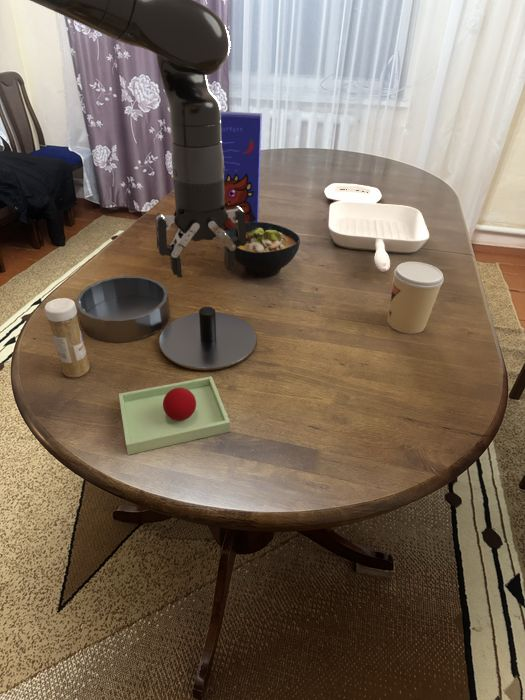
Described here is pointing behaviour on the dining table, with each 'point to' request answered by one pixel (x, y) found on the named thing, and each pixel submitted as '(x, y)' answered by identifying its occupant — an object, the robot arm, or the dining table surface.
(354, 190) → the plate
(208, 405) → the tray
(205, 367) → the pot lid
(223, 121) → the cereal box
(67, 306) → the sprinkles bottle
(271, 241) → the bowl
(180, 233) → the robot arm
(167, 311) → the pot
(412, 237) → the pan
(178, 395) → the dark red ball
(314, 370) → the dining table surface
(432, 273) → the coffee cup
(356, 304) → the dining table surface
